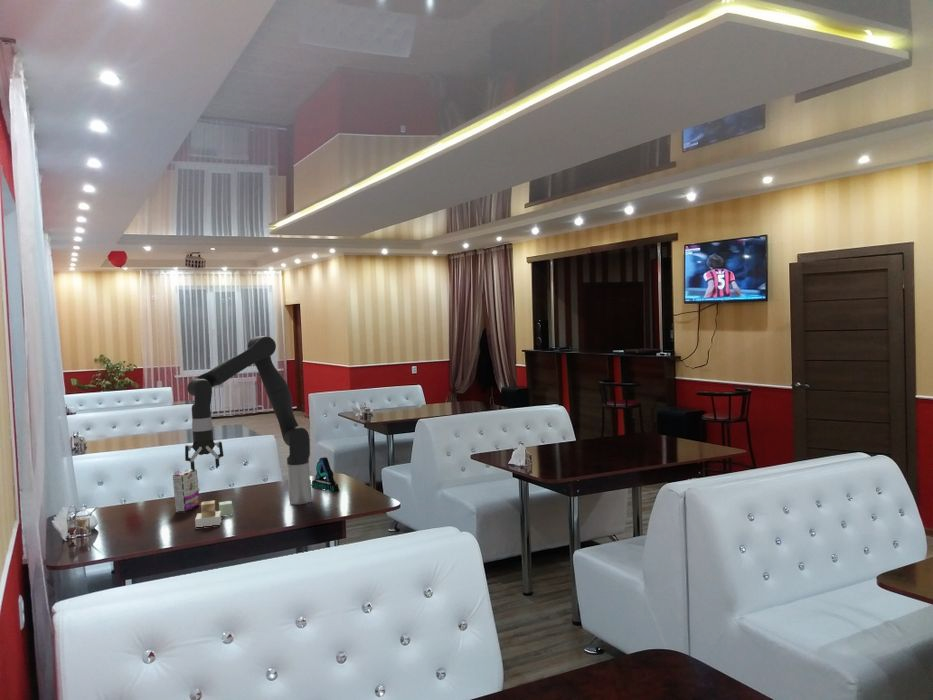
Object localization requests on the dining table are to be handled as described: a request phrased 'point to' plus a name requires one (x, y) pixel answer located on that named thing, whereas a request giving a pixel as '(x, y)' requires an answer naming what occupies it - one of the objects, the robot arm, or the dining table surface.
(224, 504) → the sage cube
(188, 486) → the candy bar box
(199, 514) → the cream block
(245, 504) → the dining table surface
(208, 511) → the oak cube
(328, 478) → the decorative sign
